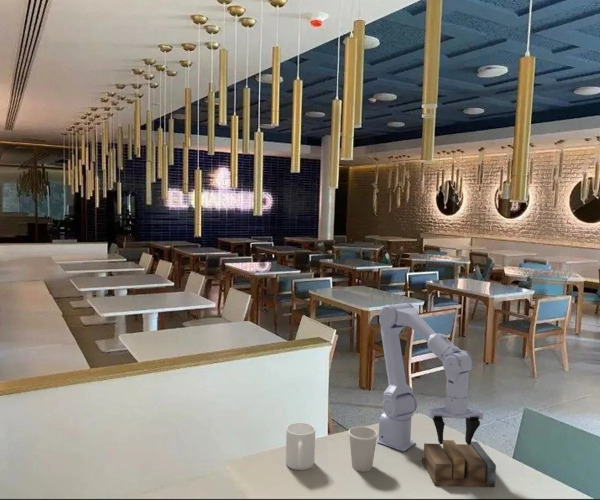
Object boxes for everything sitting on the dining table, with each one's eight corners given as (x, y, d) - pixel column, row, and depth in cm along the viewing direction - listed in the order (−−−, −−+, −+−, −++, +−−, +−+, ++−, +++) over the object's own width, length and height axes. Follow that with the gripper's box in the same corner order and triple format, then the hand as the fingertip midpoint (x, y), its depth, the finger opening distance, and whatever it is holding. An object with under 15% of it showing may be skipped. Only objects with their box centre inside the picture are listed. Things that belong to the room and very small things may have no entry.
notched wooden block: (434, 485, 133) (435, 463, 133) (421, 460, 147) (422, 440, 147) (494, 487, 133) (495, 465, 133) (476, 461, 147) (477, 441, 147)
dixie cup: (342, 469, 140) (343, 434, 140) (353, 456, 148) (354, 423, 147) (370, 476, 137) (372, 441, 136) (380, 464, 144) (382, 430, 143)
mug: (315, 478, 135) (316, 441, 134) (284, 477, 135) (285, 440, 134) (314, 457, 147) (315, 423, 146) (285, 456, 147) (286, 422, 146)
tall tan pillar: (452, 478, 135) (453, 456, 135) (442, 460, 145) (443, 440, 145) (464, 478, 135) (465, 456, 135) (452, 460, 145) (453, 440, 145)
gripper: (434, 399, 135) (431, 448, 135) (488, 401, 135) (485, 450, 136) (427, 390, 142) (425, 437, 142) (478, 392, 142) (476, 438, 143)
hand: (454, 443), depth 139 cm, fingers open, 7 cm apart
